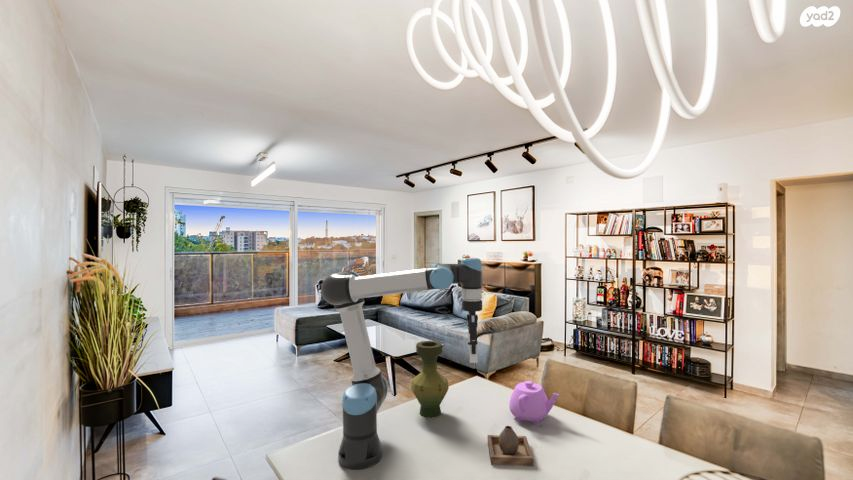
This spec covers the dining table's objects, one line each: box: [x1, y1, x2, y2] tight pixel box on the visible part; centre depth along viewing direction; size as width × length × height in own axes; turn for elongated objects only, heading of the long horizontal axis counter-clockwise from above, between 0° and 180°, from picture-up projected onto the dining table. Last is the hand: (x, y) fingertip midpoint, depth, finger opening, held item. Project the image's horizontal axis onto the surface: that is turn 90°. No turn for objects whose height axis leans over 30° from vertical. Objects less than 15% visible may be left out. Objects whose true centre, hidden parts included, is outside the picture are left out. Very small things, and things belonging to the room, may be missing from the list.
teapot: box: [508, 380, 560, 426], centre depth 156 cm, size 20×20×15 cm
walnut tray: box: [487, 434, 535, 467], centre depth 132 cm, size 14×14×3 cm
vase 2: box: [499, 425, 519, 455], centre depth 132 cm, size 7×7×9 cm
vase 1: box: [410, 340, 449, 419], centre depth 164 cm, size 16×16×30 cm
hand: (472, 356), depth 140 cm, fingers open, 13 cm apart
